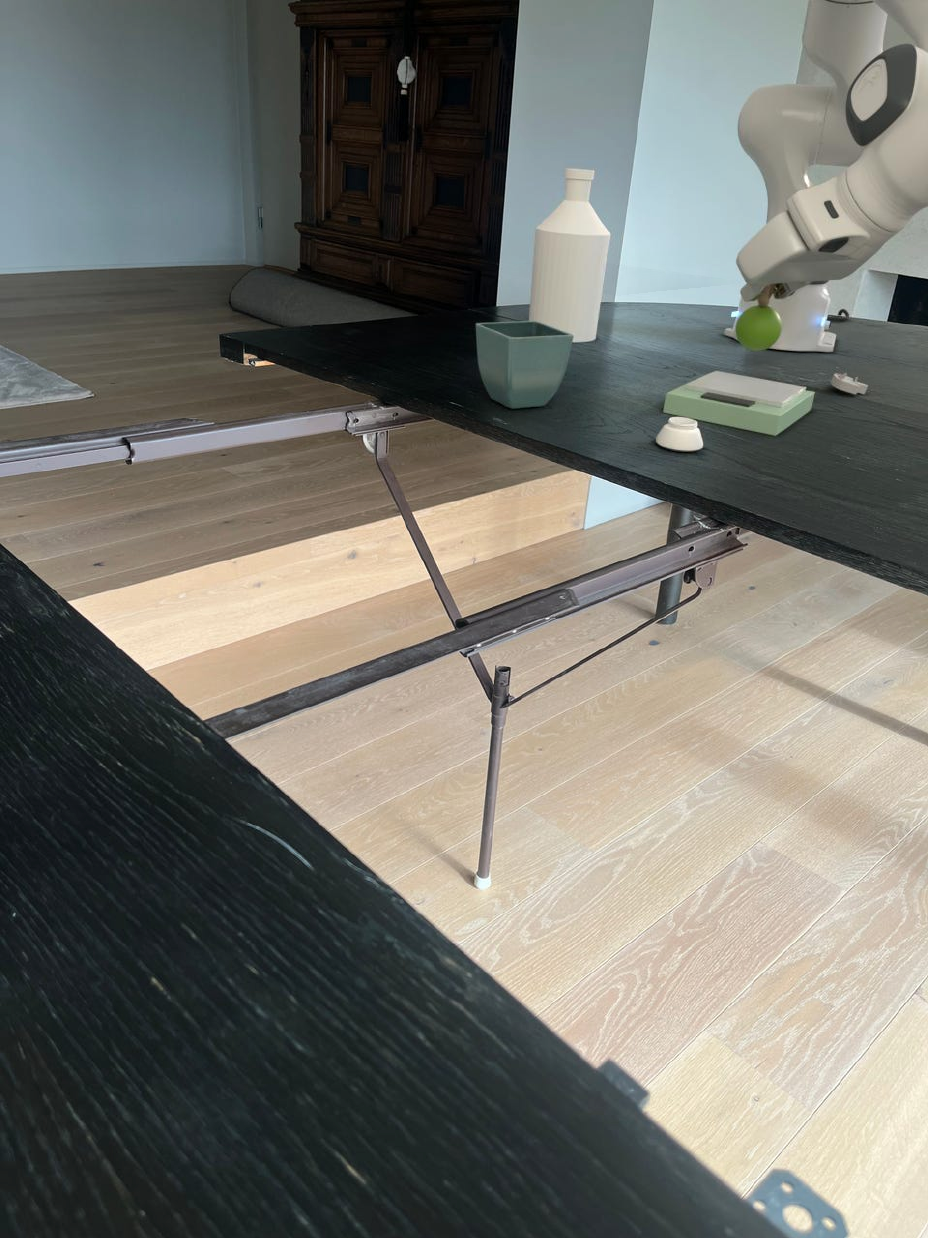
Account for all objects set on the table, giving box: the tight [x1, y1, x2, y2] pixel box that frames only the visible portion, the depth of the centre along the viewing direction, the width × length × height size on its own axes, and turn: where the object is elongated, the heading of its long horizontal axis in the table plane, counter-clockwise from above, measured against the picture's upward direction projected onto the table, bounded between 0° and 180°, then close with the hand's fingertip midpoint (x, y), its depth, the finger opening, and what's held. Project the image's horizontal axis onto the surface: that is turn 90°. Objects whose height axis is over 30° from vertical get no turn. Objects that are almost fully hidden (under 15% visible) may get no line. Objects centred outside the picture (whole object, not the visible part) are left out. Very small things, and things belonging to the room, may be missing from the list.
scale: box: [662, 370, 816, 437], centre depth 120 cm, size 16×14×3 cm
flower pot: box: [475, 320, 574, 410], centre depth 115 cm, size 9×9×9 cm
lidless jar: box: [655, 416, 704, 453], centre depth 104 cm, size 5×3×5 cm
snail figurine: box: [736, 283, 782, 352], centre depth 116 cm, size 5×6×12 cm
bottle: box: [528, 167, 612, 343], centre depth 153 cm, size 12×12×25 cm
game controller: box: [781, 372, 869, 395], centre depth 134 cm, size 6×12×3 cm, turn 100°
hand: (760, 295), depth 116 cm, fingers closed on snail figurine, 5 cm apart
